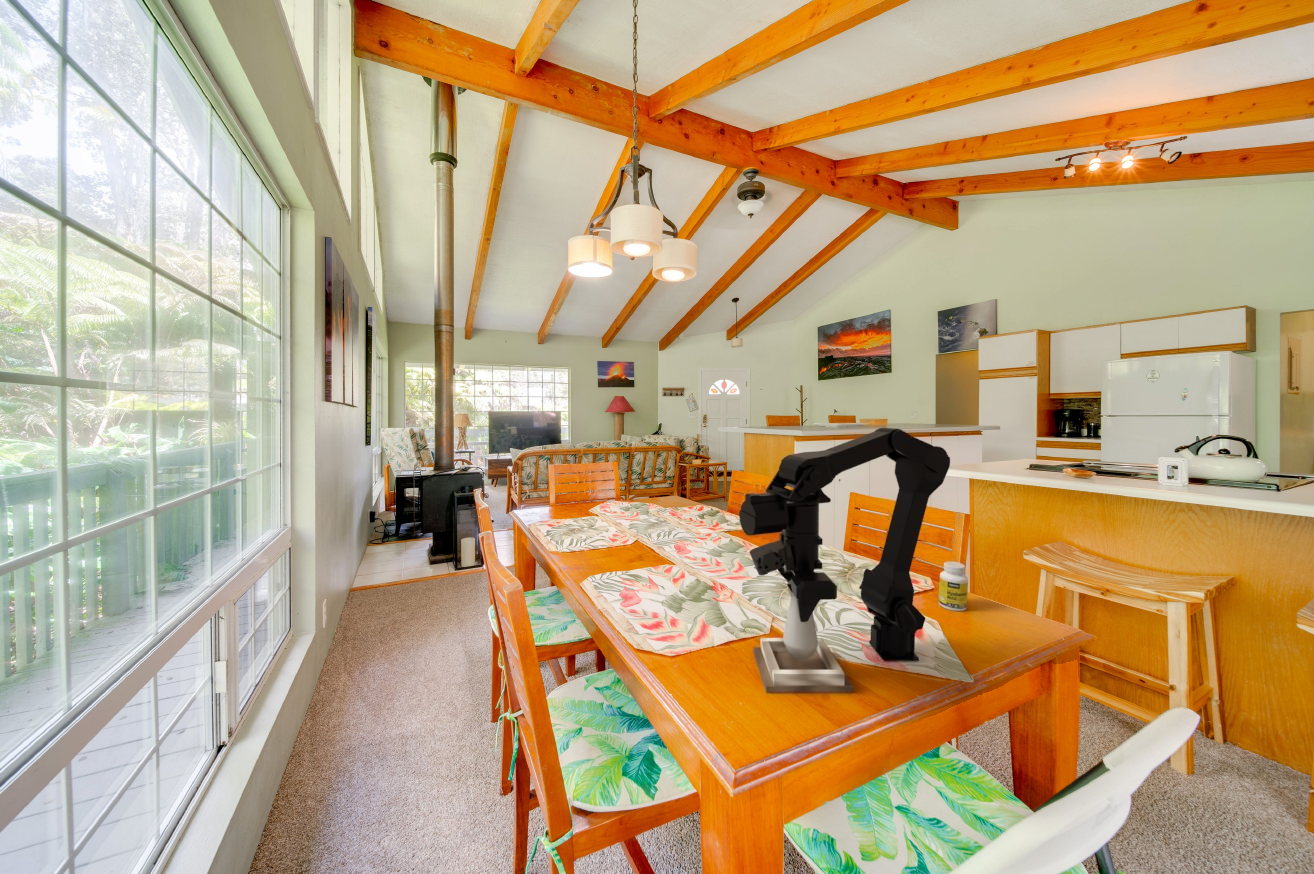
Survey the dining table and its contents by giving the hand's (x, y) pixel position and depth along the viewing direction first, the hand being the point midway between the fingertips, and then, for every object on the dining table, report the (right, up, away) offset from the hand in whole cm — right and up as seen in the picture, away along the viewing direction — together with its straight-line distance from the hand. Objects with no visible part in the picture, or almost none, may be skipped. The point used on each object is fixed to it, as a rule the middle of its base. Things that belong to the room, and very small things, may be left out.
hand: (800, 616), depth 82 cm
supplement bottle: (+42, -7, +25) cm, 49 cm away
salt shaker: (0, -7, +1) cm, 7 cm away
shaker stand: (0, -10, +1) cm, 10 cm away
